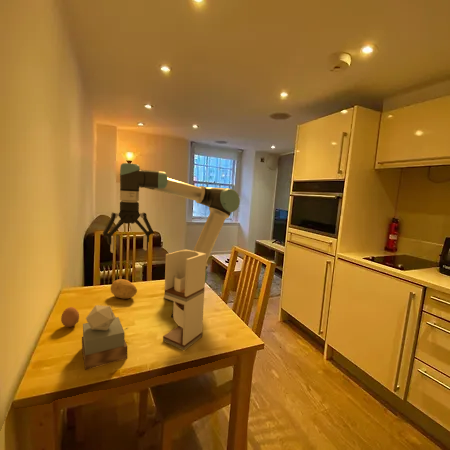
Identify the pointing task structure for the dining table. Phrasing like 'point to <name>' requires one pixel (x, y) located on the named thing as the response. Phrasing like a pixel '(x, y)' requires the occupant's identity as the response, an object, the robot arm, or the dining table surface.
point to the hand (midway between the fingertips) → (128, 250)
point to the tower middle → (103, 337)
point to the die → (100, 317)
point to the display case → (185, 295)
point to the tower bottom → (104, 356)
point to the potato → (123, 289)
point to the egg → (70, 317)
